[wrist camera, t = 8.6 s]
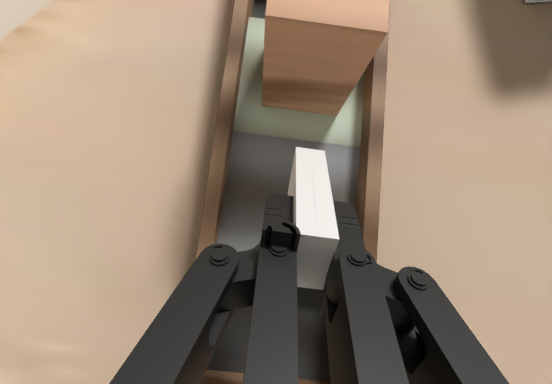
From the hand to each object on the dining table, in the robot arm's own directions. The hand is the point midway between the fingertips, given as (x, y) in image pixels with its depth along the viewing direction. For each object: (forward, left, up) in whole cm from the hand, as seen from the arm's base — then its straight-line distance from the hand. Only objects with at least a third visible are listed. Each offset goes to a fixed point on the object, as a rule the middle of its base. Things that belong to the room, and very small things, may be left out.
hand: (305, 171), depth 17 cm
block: (+8, -5, -7) cm, 12 cm away
